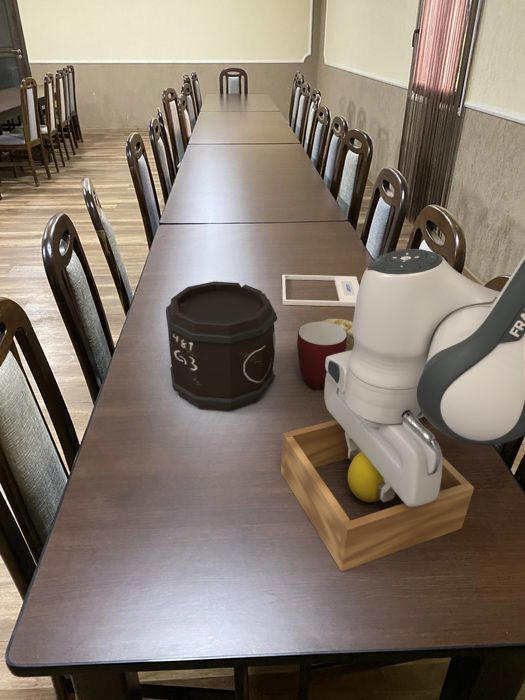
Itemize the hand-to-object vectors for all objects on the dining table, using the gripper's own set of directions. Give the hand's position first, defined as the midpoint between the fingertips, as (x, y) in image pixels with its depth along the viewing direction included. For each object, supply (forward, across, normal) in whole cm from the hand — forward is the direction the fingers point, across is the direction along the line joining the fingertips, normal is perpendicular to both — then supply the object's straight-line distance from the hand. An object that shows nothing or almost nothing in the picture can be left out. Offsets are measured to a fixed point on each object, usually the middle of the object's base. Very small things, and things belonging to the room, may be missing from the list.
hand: (369, 477), depth 68 cm
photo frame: (+4, +59, -24) cm, 64 cm away
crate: (+4, 0, 0) cm, 4 cm away
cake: (+4, +37, -16) cm, 40 cm away
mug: (+4, +25, -7) cm, 26 cm away
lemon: (+4, 0, 0) cm, 4 cm away
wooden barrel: (+4, +32, +9) cm, 33 cm away
